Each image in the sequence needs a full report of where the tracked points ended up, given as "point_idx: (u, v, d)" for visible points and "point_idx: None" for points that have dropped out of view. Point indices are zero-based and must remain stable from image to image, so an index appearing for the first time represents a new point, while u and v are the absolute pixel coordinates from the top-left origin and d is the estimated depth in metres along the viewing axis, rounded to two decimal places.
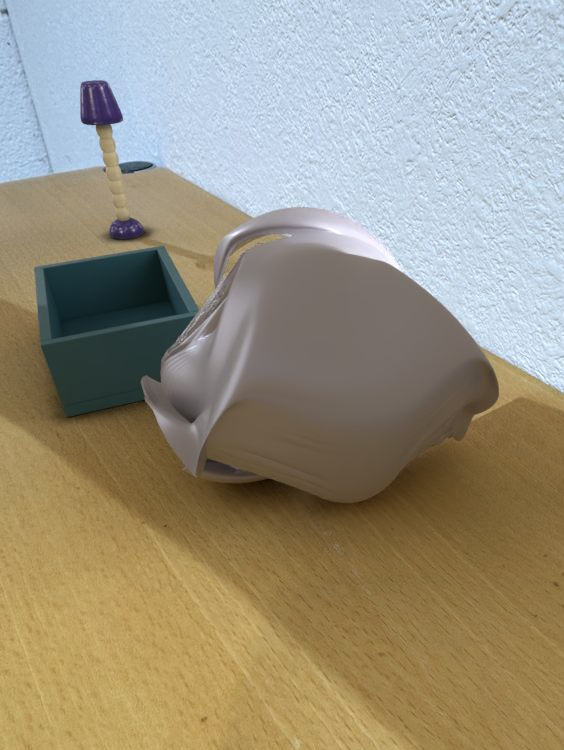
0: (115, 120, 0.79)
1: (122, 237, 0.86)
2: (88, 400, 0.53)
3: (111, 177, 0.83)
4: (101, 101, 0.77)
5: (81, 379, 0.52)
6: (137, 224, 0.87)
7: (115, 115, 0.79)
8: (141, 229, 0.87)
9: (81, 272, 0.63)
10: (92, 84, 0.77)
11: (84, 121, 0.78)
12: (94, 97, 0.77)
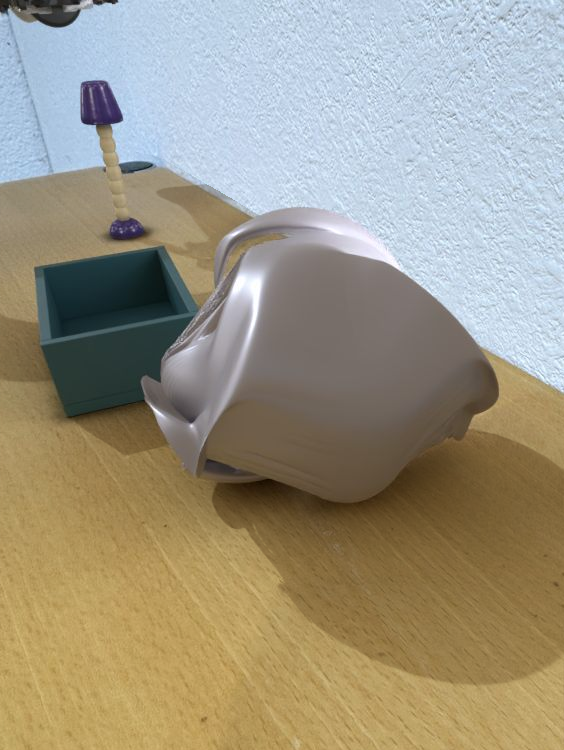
0: (115, 120, 0.79)
1: (122, 237, 0.86)
2: (88, 400, 0.53)
3: (111, 177, 0.83)
4: (101, 101, 0.77)
5: (81, 379, 0.52)
6: (137, 224, 0.87)
7: (116, 115, 0.79)
8: (141, 229, 0.87)
9: (81, 272, 0.63)
10: (92, 84, 0.77)
11: (84, 121, 0.78)
12: (94, 97, 0.77)
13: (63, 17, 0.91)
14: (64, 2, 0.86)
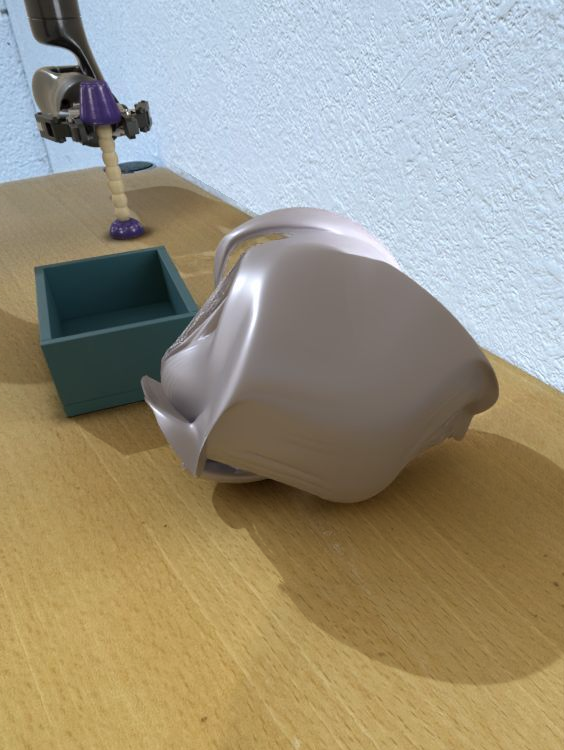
0: (114, 120, 0.79)
1: (122, 237, 0.86)
2: (88, 400, 0.53)
3: (111, 177, 0.83)
4: (100, 101, 0.77)
5: (81, 379, 0.52)
6: (137, 224, 0.87)
7: (115, 115, 0.79)
8: (141, 229, 0.87)
9: (81, 272, 0.63)
10: (91, 84, 0.77)
11: (83, 121, 0.78)
12: (93, 97, 0.77)
13: None
14: None
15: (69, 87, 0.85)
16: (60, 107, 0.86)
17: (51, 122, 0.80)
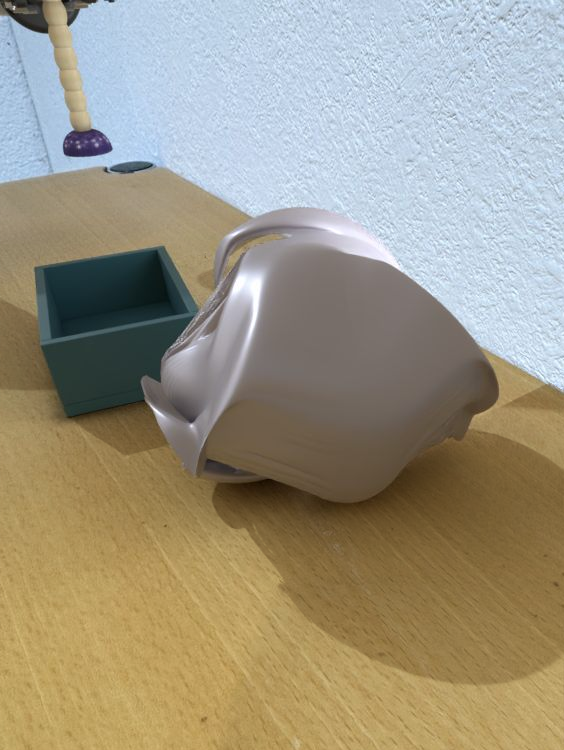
0: None
1: (80, 155, 0.61)
2: (88, 400, 0.53)
3: (62, 64, 0.58)
4: None
5: (81, 379, 0.52)
6: (102, 137, 0.61)
7: None
8: (108, 145, 0.62)
9: (81, 272, 0.63)
10: None
11: None
12: None
13: None
14: None
15: None
16: None
17: None
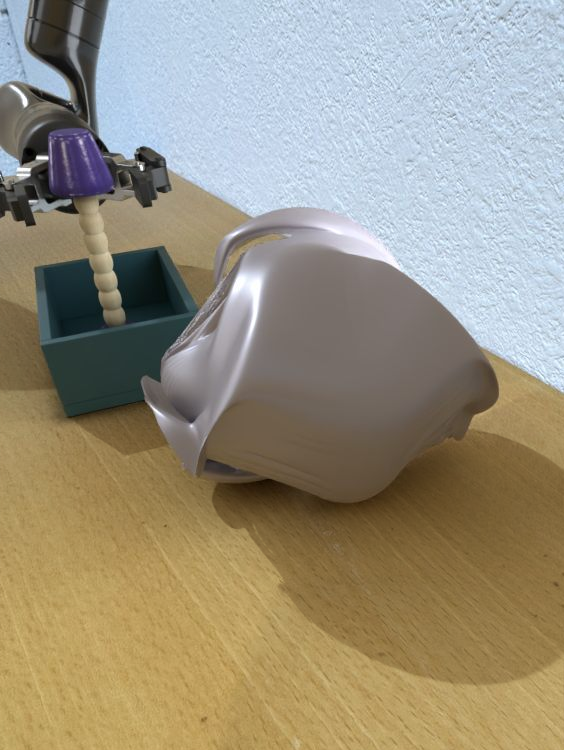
0: (102, 189, 0.52)
1: None
2: (88, 400, 0.53)
3: (97, 269, 0.56)
4: (80, 161, 0.50)
5: (81, 379, 0.52)
6: None
7: (103, 181, 0.51)
8: None
9: (81, 272, 0.63)
10: (66, 136, 0.49)
11: (55, 191, 0.51)
12: (70, 156, 0.50)
13: None
14: None
15: (35, 131, 0.57)
16: (22, 160, 0.58)
17: None
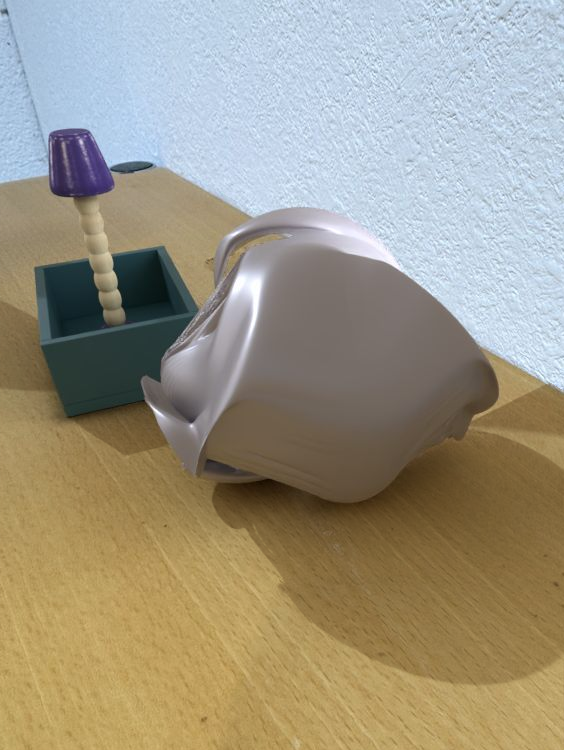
0: (102, 189, 0.52)
1: None
2: (88, 400, 0.53)
3: (97, 269, 0.56)
4: (80, 161, 0.50)
5: (81, 379, 0.52)
6: None
7: (103, 181, 0.51)
8: None
9: (81, 272, 0.63)
10: (66, 136, 0.49)
11: (55, 191, 0.51)
12: (70, 156, 0.50)
13: None
14: None
15: None
16: None
17: None
